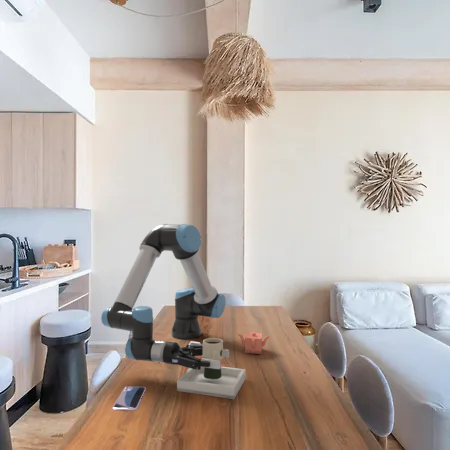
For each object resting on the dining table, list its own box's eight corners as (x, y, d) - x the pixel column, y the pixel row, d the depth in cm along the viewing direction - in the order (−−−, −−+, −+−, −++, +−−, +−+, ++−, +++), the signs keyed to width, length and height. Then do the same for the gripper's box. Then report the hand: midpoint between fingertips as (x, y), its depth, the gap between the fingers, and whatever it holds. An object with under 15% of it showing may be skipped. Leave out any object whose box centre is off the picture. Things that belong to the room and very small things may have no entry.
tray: (194, 372, 138) (194, 363, 138) (245, 378, 132) (245, 369, 132) (177, 390, 122) (177, 380, 122) (234, 399, 117) (234, 388, 117)
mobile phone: (111, 408, 109) (124, 385, 124) (111, 411, 109) (124, 388, 124) (136, 408, 110) (146, 385, 125) (136, 411, 110) (146, 388, 125)
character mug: (224, 383, 122) (225, 345, 122) (203, 385, 121) (204, 346, 121) (220, 370, 133) (220, 335, 133) (201, 371, 132) (201, 336, 132)
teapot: (270, 357, 154) (270, 337, 154) (235, 355, 156) (235, 336, 156) (270, 347, 166) (271, 329, 166) (238, 346, 168) (238, 328, 168)
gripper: (178, 352, 143) (232, 358, 137) (151, 374, 121) (214, 383, 115) (178, 333, 143) (233, 338, 137) (151, 352, 121) (214, 360, 115)
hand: (224, 359), depth 126 cm, fingers closed on character mug, 10 cm apart
